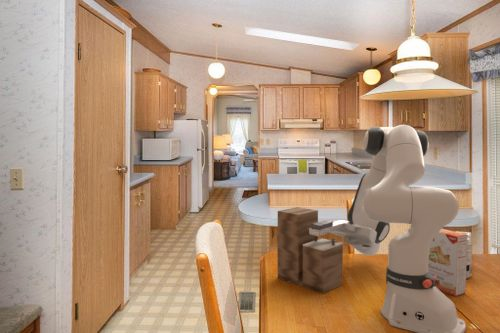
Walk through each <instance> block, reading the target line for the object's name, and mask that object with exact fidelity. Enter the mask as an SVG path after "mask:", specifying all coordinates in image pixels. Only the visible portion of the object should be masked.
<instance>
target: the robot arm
mask: <svg viewBox="0 0 500 333" xmlns="http://www.w3.org/2000/svg"><path fill="white" fill-rule="evenodd" d="M363 146H364V150H365V152H366V153H367V154H369V155H372V160H371V165H370V168H369V170H368V172H366V173H364V174H363V175H362V176H361V178H360V181H359V184H358V186H357V189H356V192H355V196H354V198H353V201H352V204H351V206H350V208H349V210H348V212H347V215H346V216H347V221H349V223H344V227H345V228H343V229H340V230H337V231H333V232H330V233H329V234H333V235H336V236H338V237H339V236H340V237H343V240H344V242H345V243H346V244H347V245H349V246H350V247H351V248H354V249H355V250H356V251H357V252H359V253H361V254H362V255H365V256H374V255H376V254H377V253H378V252H379V251H380V248H381V243H382V242H383V241H384V240H385V239H386V238H387V236H388V235H389V232H390V230H391V229H390V226H391V225H390V224H392V223H393V224H408V225H410V226H409V228H408V229H407V230H406V231H405V232H403V233H401V234H399V235H395V236H394V237H393V238H392V239H391V240H389V243H388V247H387V248H388V249H387V256H388V258H387V265H386V273H385V283H386V290H385V296H384V301H383V305H382V308H381V311H380V312H381V315H382V316H383V317H384V318H385V319H387V321H388V324H389V325H390V326H391V327H395V328H399V329H404V330H406V331H410V332H414V333H465V332H466V329H467V327H466V322H465V321H464V319H462V318H459V317H458V313H457V308H456V306H455V303H454V302H453V301H452V300H451V299H450V298H449V297H447V296H446V295H445V294H444V293H443V291H441V290H439V289H438V288H437V287H435V280H436V279H437V278H436V276H437V275H435V276H432V275H431V274H430V272H429V271H428V262H429V252H430V246H431V243H432V241H433V239H434V237H435V236H436V234H437V233H438V232H439V231H440V230H441V229H444V227H446V226H448V225H449V224H450V223H453V221H454V220H455V219H456V218H457V216H458V214H459V202H458V199H457V197H456V195H455V194H454V193H453V192H452V191H451V190H449V189H445V188H440V187H439V188H438V187H433V186H412V185H414V184H416V183H417V182H419V181H420V180H421V179H423V176H424V175H425V171H426V166H425V160H424V156H426V154H427V153H428V149H429V138H428V135H427V134H426V132H424V131H422V130H418V129H415V128H414V127H412V126H410V125H408V124H399V125H396V126H385V127H384V126H382V127H380V126H373V127H369V128H368V129H367V130H366V132H365V134H364V137H363ZM329 221H330V222H334V221H335V220H329Z"/></svg>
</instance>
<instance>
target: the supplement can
mask: <svg viewBox="0 0 500 333" xmlns="http://www.w3.org/2000/svg"><path fill="white" fill-rule="evenodd" d="M472 244H473V242H471V240H470V238H468V237H467V267H466V280H467V279H469V278H470V277H471V273H472V249H473V248H472V246H473V245H472Z"/></svg>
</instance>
